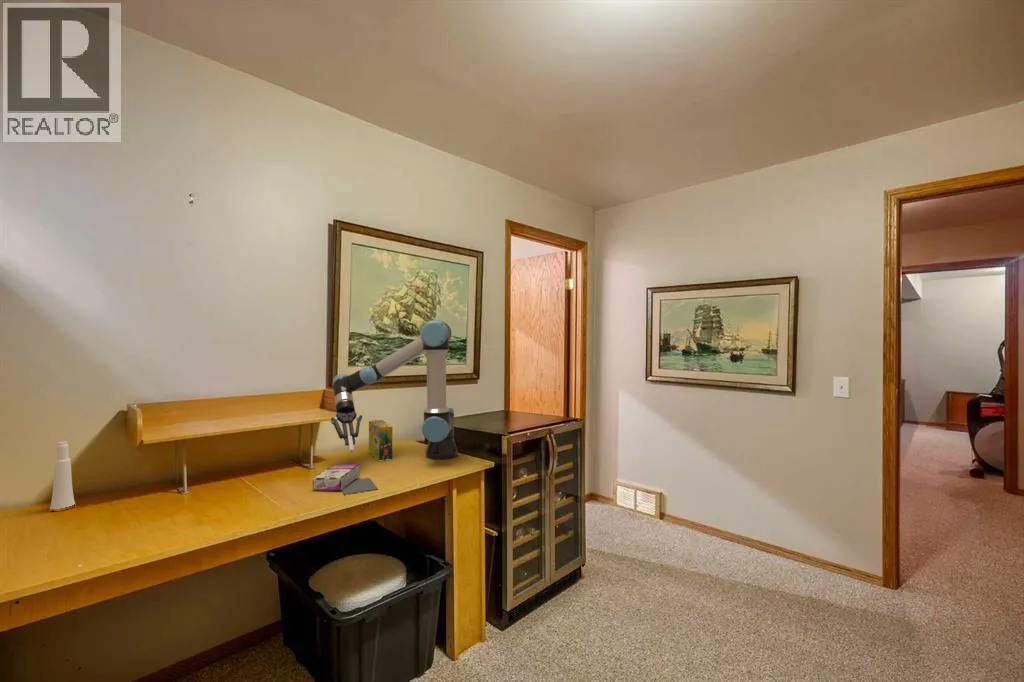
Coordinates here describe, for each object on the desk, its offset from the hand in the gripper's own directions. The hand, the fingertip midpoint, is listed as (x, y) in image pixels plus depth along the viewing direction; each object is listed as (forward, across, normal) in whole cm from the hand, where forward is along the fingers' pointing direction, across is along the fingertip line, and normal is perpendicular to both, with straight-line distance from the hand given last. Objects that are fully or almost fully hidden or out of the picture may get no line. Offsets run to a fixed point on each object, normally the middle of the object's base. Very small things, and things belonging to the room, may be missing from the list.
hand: (351, 451), depth 181 cm
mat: (+17, 0, +2) cm, 17 cm away
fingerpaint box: (-12, -18, -27) cm, 35 cm away
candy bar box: (+5, +2, -6) cm, 8 cm away
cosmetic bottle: (0, +89, -15) cm, 90 cm away
